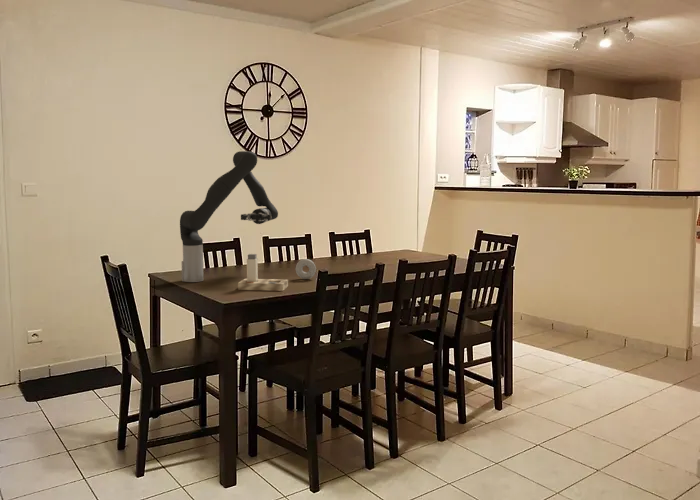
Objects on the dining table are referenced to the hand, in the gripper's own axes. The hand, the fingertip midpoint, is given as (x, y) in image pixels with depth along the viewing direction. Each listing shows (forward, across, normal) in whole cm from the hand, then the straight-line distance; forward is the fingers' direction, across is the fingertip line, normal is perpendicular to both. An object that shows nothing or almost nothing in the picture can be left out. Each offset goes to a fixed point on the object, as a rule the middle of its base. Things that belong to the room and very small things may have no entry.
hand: (252, 218), depth 297 cm
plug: (+18, +4, +30) cm, 35 cm away
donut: (-8, +24, +30) cm, 39 cm away
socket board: (+19, +9, +30) cm, 36 cm away
